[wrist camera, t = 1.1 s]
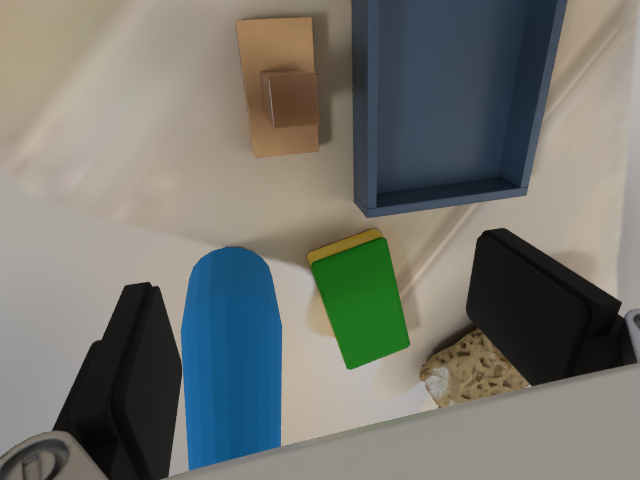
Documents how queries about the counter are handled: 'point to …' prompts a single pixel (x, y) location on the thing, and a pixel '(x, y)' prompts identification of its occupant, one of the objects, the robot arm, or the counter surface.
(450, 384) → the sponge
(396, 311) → the dish sponge
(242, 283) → the bottle
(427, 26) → the baking dish
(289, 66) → the two-tone wood block
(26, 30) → the counter surface
